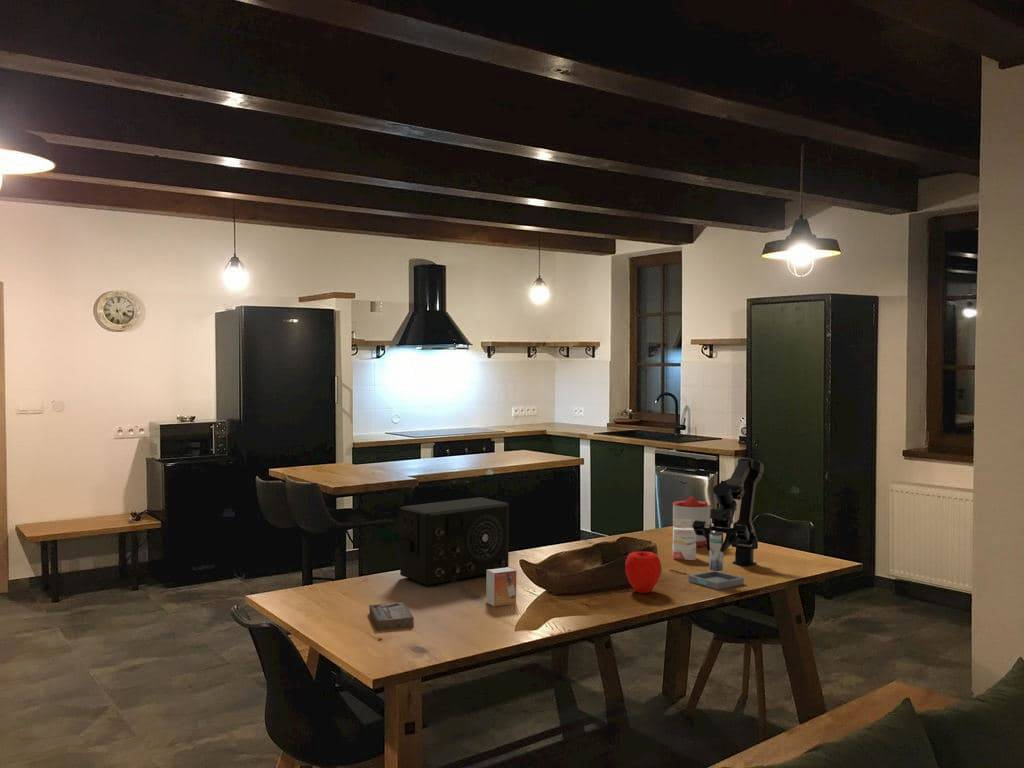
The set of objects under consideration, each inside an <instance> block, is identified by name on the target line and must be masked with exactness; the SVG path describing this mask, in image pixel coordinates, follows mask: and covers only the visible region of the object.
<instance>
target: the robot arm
mask: <svg viewBox="0 0 1024 768" xmlns="http://www.w3.org/2000/svg"><path fill="white" fill-rule="evenodd" d="M733 470H734V471H733V473H732V474H731V475H730V477H729V478H727V479H725V480H720V482H719V483H716V484H715V485H714V486H713V487H712V492H713V494H714V498H715V501H716V503H717V504H718V508H711V512H710V523H711V524H710V525H709V524H706V522H705V521H699V520H695V521H694V522H693V525H692V526H693V529H694V531H695V534H696V535H699V536H704V537H705V538H706V550H707V552H709V534H710V531H712V530H719V531H722V534H725V537H724V539H723V546H722V550H721V551H722V552H723V553H724V552H725V551H726V550H727V549H728V548H729V547H730V546H731V547H732V548H735V553H734V554H735V557H734V560H733V561H732V564H736V565H740V566H744V567H748V566H752V565H757V561H756V562H755V561H754V550H757V549H759V540H758V538H757V533H756V529H755V527H754V525H753V523H752V519H753V513H754V504H755V497H756V496H755V495H756V487H757V485H758V484H759V482H760V481H761V480H762V476H763V474H764V470H765V465H764V463H762V462H761V461H760V460H756V459H755V460H754V459H753V458H750V457H740V458H738V461H737V464H736V466H735V468H734V469H733ZM740 500H741V501H740ZM737 501H740V507H739V508H740V509H739V515H738V516H739V517H738V520H737V521H735V522H734V517H735V514H736V511H737V509H738V508H737V505H738V504H737ZM732 526H733V527H732Z"/></svg>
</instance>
